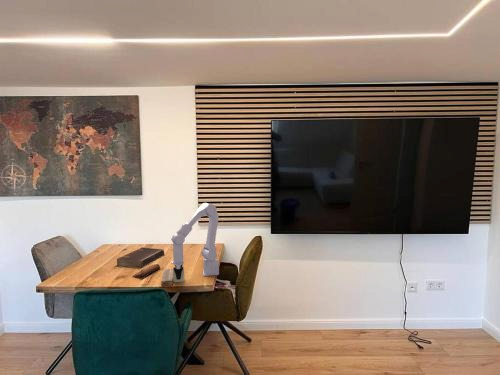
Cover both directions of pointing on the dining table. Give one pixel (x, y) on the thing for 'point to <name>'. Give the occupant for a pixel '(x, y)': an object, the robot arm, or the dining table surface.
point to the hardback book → (140, 257)
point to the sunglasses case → (146, 271)
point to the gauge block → (181, 276)
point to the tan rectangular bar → (167, 277)
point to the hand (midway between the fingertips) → (178, 276)
